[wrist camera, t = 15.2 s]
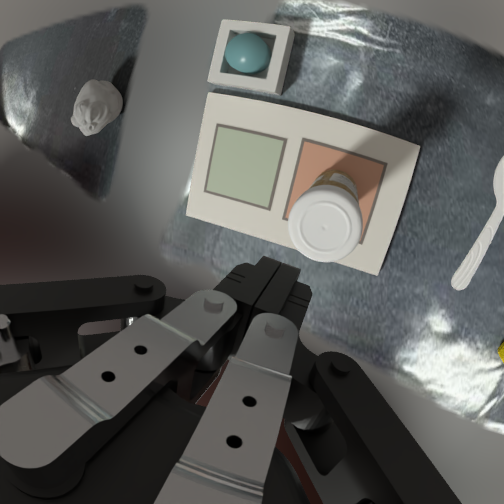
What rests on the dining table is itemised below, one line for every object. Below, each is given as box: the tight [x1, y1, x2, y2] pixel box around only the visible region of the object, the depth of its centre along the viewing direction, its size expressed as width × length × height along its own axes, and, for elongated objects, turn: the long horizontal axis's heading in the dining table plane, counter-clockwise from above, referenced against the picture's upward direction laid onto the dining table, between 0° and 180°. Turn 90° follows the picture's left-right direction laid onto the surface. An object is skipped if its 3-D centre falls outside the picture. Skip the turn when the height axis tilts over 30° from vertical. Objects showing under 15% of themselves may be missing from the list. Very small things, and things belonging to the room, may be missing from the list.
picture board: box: [186, 92, 420, 276], centre depth 32 cm, size 22×14×1 cm, turn 77°
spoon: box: [451, 156, 504, 290], centre depth 27 cm, size 5×18×1 cm, turn 158°
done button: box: [225, 33, 272, 75], centre depth 27 cm, size 4×4×2 cm
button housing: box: [207, 20, 295, 96], centre depth 28 cm, size 7×7×3 cm
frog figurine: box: [71, 80, 123, 136], centre depth 32 cm, size 6×7×7 cm
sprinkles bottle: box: [288, 169, 363, 262], centre depth 25 cm, size 5×5×14 cm
